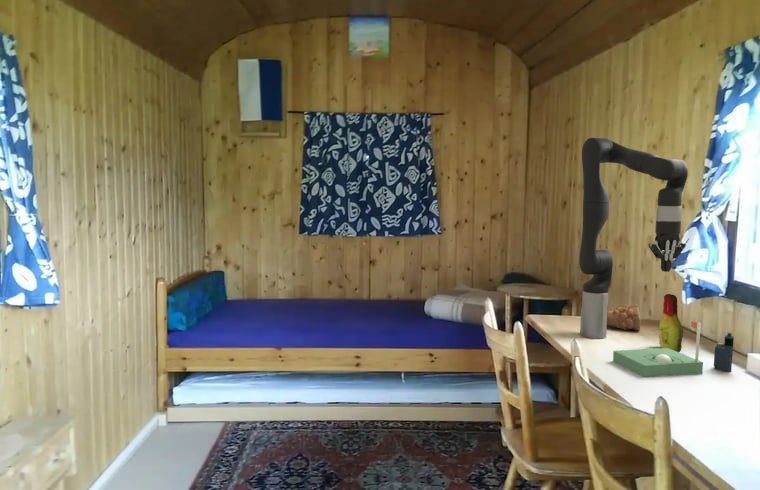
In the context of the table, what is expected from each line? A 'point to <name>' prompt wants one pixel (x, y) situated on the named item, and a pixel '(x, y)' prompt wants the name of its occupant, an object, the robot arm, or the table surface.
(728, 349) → the vaping device
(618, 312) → the bag of nuts
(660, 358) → the ball
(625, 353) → the green
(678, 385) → the table surface
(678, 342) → the bottle
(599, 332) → the robot arm
